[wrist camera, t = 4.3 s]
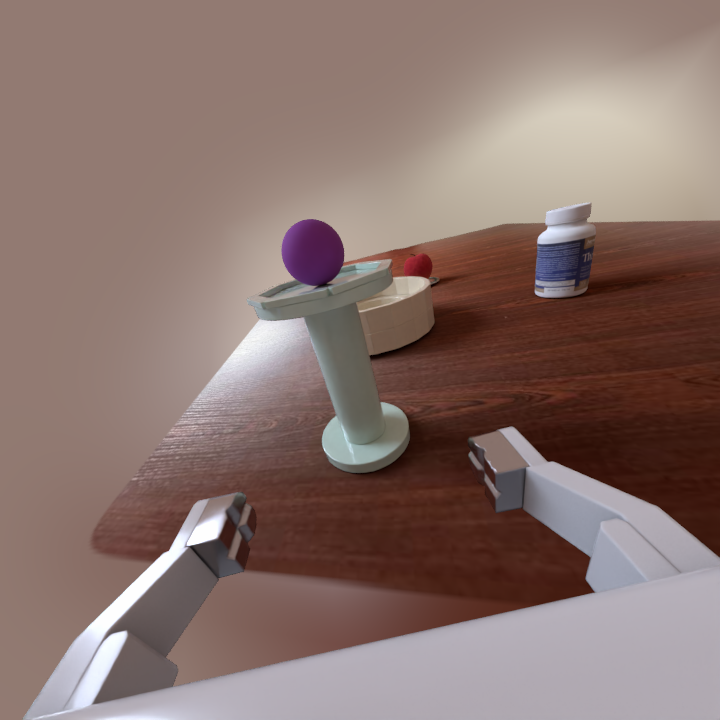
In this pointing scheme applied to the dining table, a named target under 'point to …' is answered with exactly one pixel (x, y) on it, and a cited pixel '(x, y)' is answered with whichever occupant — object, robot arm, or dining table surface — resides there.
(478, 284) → the dining table surface
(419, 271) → the apple
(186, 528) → the robot arm
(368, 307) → the bowl
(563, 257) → the pill bottle
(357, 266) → the pedestal stand
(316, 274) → the ball
